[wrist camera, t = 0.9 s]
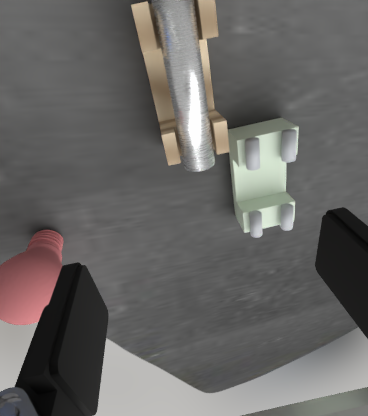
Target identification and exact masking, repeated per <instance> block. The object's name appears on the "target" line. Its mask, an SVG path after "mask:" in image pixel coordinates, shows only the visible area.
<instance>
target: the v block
mask: <svg viewBox="0 0 368 416" xmlns="http://www.w3.org/2000/svg"><path fill="white" fill-rule="evenodd" d="M228 140H229V150H230V152H229V158H230V168H231V178H232V188H233V198H234V208H235V216H236V218H237V220H238V222H239V223H240V225H241V227H242V229H243V231H244V233H246V232H250V231H251V236H253V237H261V236H262V229H263V228H267V227H272V226H276V225H280V224H281V229H283V230H291V229H292V228H293V222H294V214H295V201H294V200H293V199H292V198H291V196H290V195H289V194H288V193H287V192H286V162H293V161H295V160H296V155H297V149H298V126H296V125H294V124H292V123H291V122H289V121H287V120H285V119H283V118H277V119H273V120H268V121H264V122H259V123H255V124H250V125H246V126H242V127H237V128H233V129H228Z"/></svg>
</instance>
